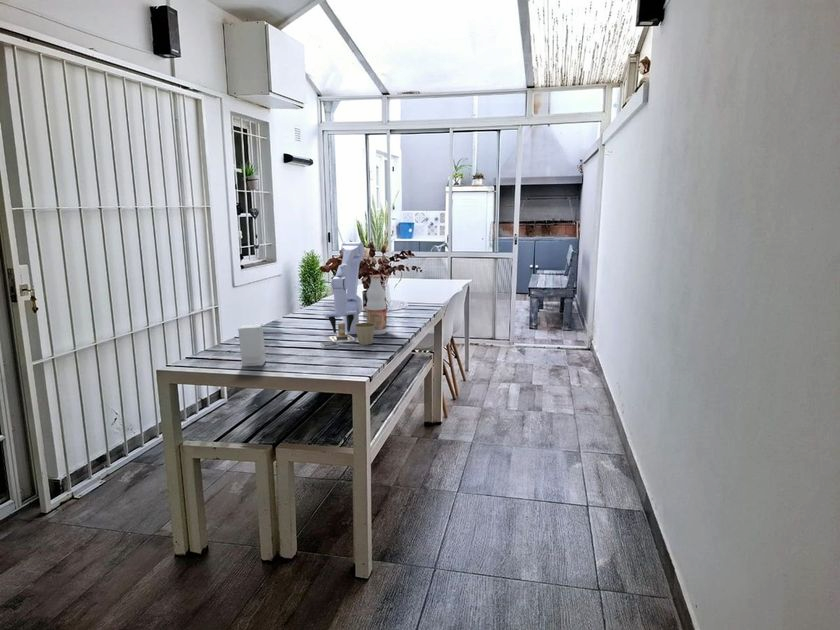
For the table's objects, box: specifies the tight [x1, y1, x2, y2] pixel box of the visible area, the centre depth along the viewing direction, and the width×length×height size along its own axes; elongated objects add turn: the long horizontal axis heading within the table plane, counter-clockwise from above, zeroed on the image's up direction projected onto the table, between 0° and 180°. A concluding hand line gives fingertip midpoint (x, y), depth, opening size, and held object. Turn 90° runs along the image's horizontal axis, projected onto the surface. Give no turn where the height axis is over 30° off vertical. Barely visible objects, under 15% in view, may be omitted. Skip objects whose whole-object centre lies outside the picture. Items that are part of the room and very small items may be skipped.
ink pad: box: [320, 341, 339, 349], centre depth 251 cm, size 7×7×1 cm
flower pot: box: [354, 322, 376, 346], centre depth 254 cm, size 9×9×9 cm
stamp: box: [335, 322, 348, 340], centre depth 261 cm, size 5×5×7 cm
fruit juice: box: [366, 274, 388, 336], centre depth 272 cm, size 9×9×28 cm
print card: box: [328, 334, 357, 344], centre depth 262 cm, size 11×10×1 cm
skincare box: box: [237, 323, 267, 367], centre depth 222 cm, size 8×7×16 cm
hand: (341, 331), depth 261 cm, fingers open, 6 cm apart
